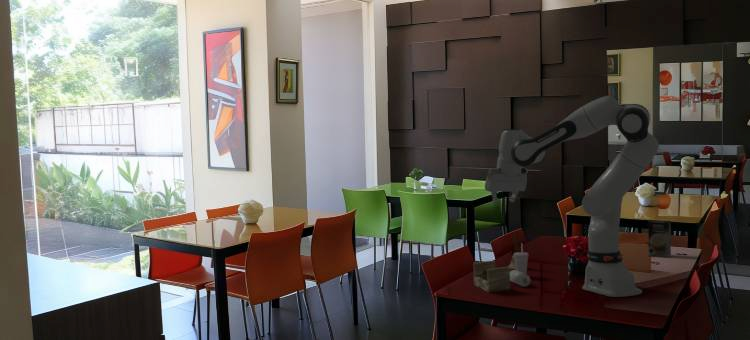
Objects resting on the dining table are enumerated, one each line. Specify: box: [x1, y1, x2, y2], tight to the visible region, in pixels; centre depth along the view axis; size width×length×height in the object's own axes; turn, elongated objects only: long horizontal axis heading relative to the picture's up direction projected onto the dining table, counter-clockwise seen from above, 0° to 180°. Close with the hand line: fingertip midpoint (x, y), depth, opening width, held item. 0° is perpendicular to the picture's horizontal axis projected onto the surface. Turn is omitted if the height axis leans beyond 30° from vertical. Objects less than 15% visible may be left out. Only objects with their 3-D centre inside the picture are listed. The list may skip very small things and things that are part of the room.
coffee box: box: [647, 219, 672, 258], centre depth 303 cm, size 9×6×16 cm
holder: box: [472, 260, 511, 294], centre depth 260 cm, size 14×9×9 cm, turn 15°
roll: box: [510, 270, 531, 288], centre depth 263 cm, size 10×5×5 cm, turn 15°
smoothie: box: [512, 242, 529, 275], centre depth 275 cm, size 6×6×14 cm
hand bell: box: [507, 231, 520, 270], centre depth 291 cm, size 8×8×16 cm
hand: (503, 202), depth 266 cm, fingers open, 8 cm apart
